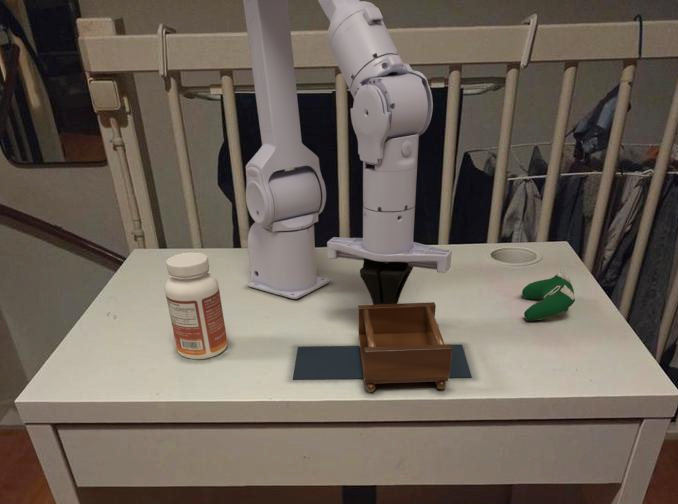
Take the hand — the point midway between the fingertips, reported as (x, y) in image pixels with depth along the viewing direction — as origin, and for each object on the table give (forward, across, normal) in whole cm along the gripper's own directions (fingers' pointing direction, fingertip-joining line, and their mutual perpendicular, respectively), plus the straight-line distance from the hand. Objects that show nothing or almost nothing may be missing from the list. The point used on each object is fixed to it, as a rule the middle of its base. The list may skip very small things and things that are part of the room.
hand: (385, 321), depth 77 cm
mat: (+2, -2, +7) cm, 7 cm away
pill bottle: (+2, +20, +12) cm, 23 cm away
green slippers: (+2, -17, -15) cm, 23 cm away
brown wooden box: (+2, -4, +7) cm, 8 cm away
